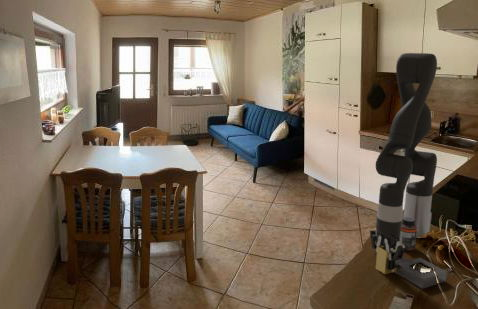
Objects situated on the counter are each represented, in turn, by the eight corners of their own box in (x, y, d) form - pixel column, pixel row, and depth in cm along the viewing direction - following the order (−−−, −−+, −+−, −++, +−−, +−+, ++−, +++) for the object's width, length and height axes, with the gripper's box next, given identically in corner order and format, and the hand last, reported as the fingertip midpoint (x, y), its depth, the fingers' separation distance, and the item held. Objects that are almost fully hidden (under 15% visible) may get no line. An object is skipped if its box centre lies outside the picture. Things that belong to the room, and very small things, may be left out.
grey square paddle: (390, 250, 142) (391, 242, 141) (445, 281, 122) (446, 271, 121) (368, 256, 138) (369, 247, 137) (422, 288, 118) (423, 278, 117)
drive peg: (384, 266, 131) (386, 243, 129) (394, 271, 127) (396, 248, 126) (375, 268, 129) (377, 246, 128) (384, 274, 126) (386, 251, 124)
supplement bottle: (400, 242, 148) (403, 214, 146) (416, 247, 145) (420, 218, 142) (394, 248, 144) (397, 219, 141) (412, 253, 140) (415, 223, 138)
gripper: (416, 222, 120) (411, 274, 123) (382, 207, 132) (378, 254, 136) (398, 226, 117) (393, 279, 120) (364, 210, 129) (360, 259, 133)
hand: (385, 266), depth 128 cm, fingers closed on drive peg, 4 cm apart
